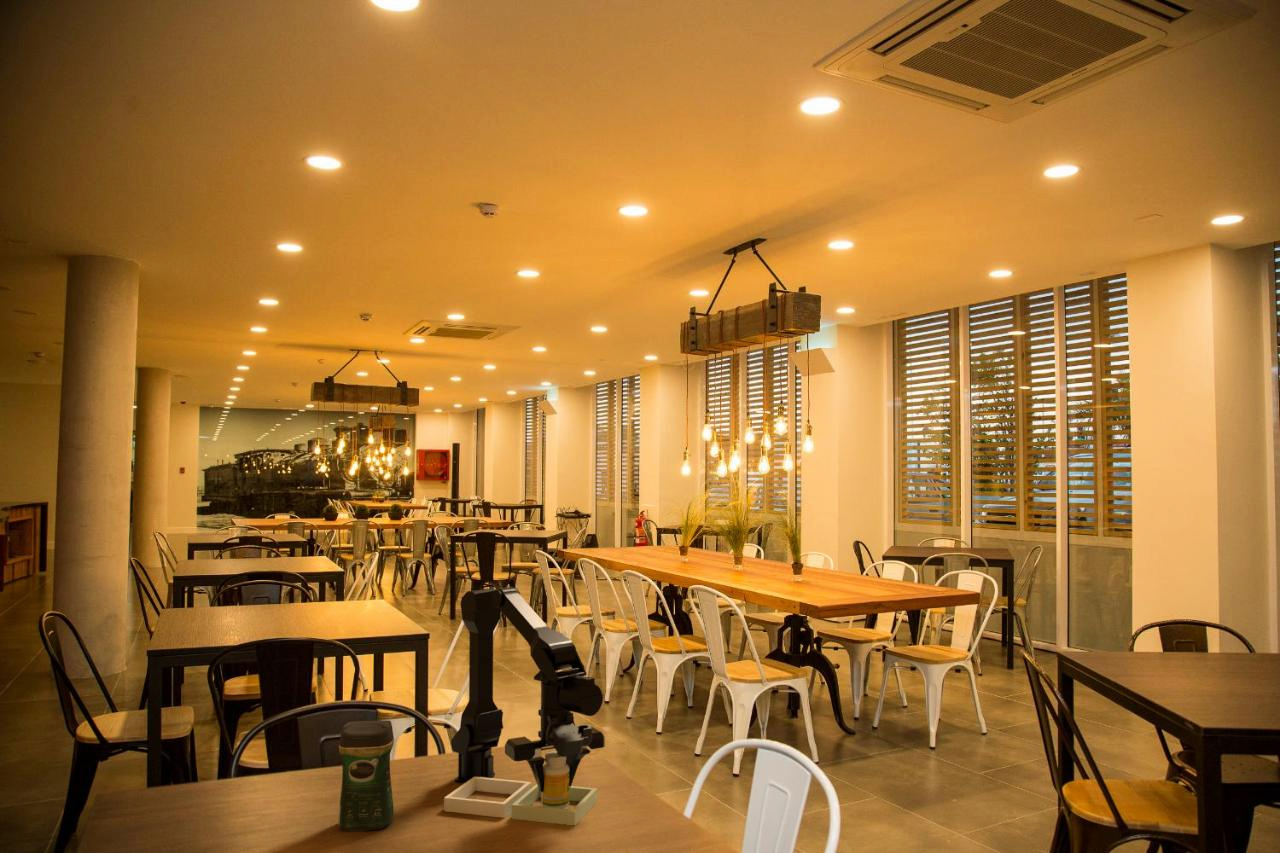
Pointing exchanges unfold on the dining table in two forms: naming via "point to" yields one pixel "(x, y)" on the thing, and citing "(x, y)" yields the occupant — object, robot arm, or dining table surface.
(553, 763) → the supplement bottle
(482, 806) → the white bin
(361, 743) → the coffee jar
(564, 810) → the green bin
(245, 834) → the dining table surface
